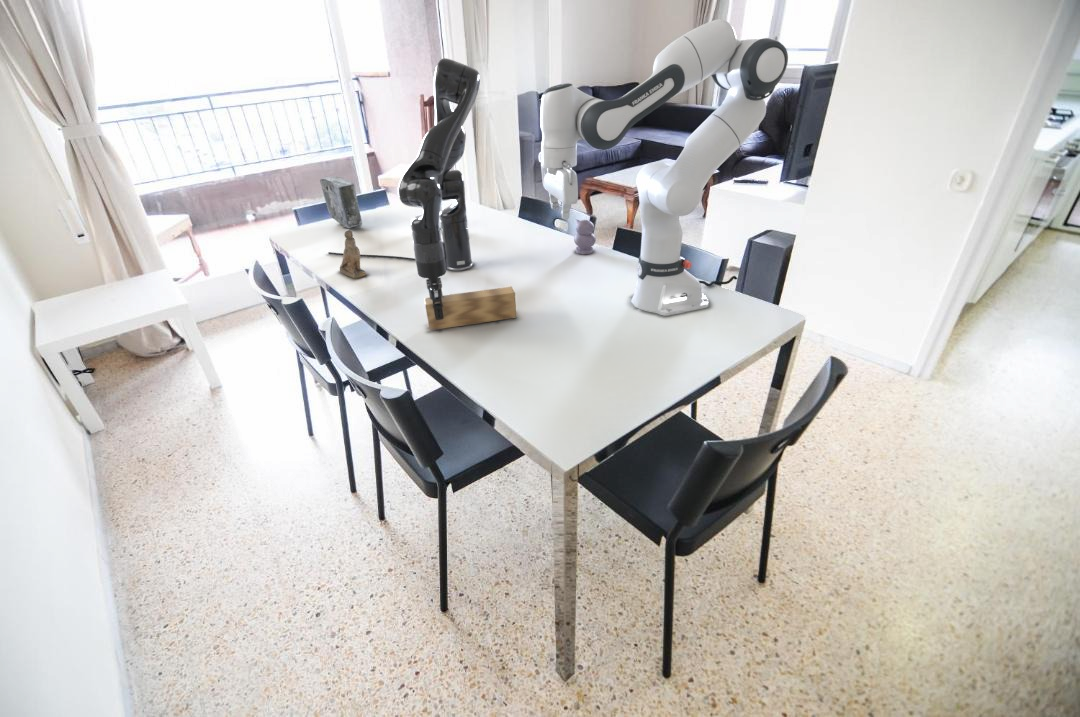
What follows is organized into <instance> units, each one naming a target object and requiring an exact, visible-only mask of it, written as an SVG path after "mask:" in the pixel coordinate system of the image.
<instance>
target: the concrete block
mask: <svg viewBox="0 0 1080 717" xmlns="http://www.w3.org/2000/svg"><path fill="white" fill-rule="evenodd" d="M319 183H320V185H321V190H322V193H323V197H324V202H325V204H326V208H327V211H328V215H329V216H330V217H331V218H332V219H333V220H335V221H336V222H337V223H339V224H340V225H341V226H342V227H344V228H346V229H351V228H353V227H358V226H361V225H362V224H363V222H362V221H363V220H362V215H361V210H360V207H359V200H358V196H357V192H356V186H355V184H354V183H353V182H352V180H351V181H350V180H349V179H347V178H344V177H341V176H337V175H336V176H335V175H334V176H326V177H322V178H320V179H319Z"/></svg>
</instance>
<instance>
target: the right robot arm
mask: <svg viewBox="0 0 1080 717" xmlns="http://www.w3.org/2000/svg"><path fill="white" fill-rule="evenodd" d="M736 34H737V33H736V31H735V28H734V27H733V25H731V23H730V22H729V21H727V20H725V19H722V18H719V19H714V20H710V21H708V22H706V23H703V24H701V25H699V26H697V27H695V28H692V29H691V30H690V31H687V32H686V33H684V34H682V35H681V36H679V37H678V38H676V39H675V40H673V41H671V43H669V44H668V45H666V47H664V48H663V49H662V50H661V51H660V52H659V53H658V54H656V57H655V59H654V61H653V66H652V73H651V75H650V76H649V77H648V78H647V79H646V80H644V81H643V82H642V83H640V84H638V85H637V86H635V87H634V88H632V89H631V90H629V91H628V92H627V93H626V94H623V96H620V97H619V98H616V99H611V100H610V99H609V100H604V99H601V98H598V97H595V96H592V95H590V94H587V93H586V92H584V91H582V90H581V89H578V88H577V87H576V86H575V85H574V84H573V83H560V84H556V85H553V86H550V87H548V88H547V89H545V90H544V92H543V93H542V95H541V100H540V114H539V116H540V117H539V119H540V121H539V122H540V130H541V135H542V136H541V137H542V138H541V142H540V143H541V144H540V152H539V153H538V161H539V162H540V170H541V171H540V172H541V181H542V187H543V188H544V190H546V191H547V192H548V196H549V199H550V200H549V202H550V208H551V210H553V211H558V210H559V209H560V206H559V205H560V203H559V202H561V211H560V217H561V219H563V220H569V219H570V212H571V208H572V205H576V204H578V201H579V185H578V184H579V183H578V175H577V172H576V171H575V170H574V169H573V168H574V167H577V164H578V141H585V142H587V144H588V145H589V146H590V147H592V148H594V149H595V150H599V151H600V150H601V151H605V150H610V149H612V148H614V147H616V146H617V145H619V143H620V142H621V141H623V139H624V137H626V135H627V133H628V132H629V131H630V129H631V128H632V127H633V126H634V125H635V124H636V123H638V122H639V121H641V120H642V119H644V118H645V117H647V116H648V115H649V114H651V113H653V112H654V111H655V110H656V109H658V108H660V107H661V106H663V105H664V104H665V103H666V102H668V101H670V100H671V99H673V98H675V97H676V96H679V95H681V94H683V93H685V92H686V91H689V90H690V89H692V88H693V87H695V86H697V85H698V84H700V83H701V82H703V81H705V80H706V79H708V78H709V77H711V78H712V80H713V82H714V83H715V84H716V85H717V86H718V87H719V88H720V89H723V90H726V91H727V93H726V96H725V98H724V100H723V101H722V103H721V104H720V105H719V106H718V107H717V108H716V109H715V110H714V111H713V112H712V113H711V114H710V115H709V116H708V117H707V118H706V119H705V120H704V121H703V122H702V123H701V124H700V125H699V126H698V127H697V128H696V129H695V130H694V131H693V132H692V133H691V134H690V135H689V136H687V138H686V139H685V143H684V147H683V149H682V150H681V152H680V154H679V155H678V157H677V159H676V160H675V161H674V162H673V163H672V164H669V163H667V162H663V161H655V162H649V163H647V164H646V165H644V166H643V167H642V168H640V170H639V171H638V173H637V175H636V178H635V186H636V190H637V193H638V200H639V213H640V220H641V241H640V242H641V243H640V255H639V256H638V262H637V280H636V285H635V289H634V291H633V292H634V293H633V294H632V298H631V304H632V305H633V306H634V307H635V308H637V309H639V310H642V311H645V312H649V313H654V314H658V315H661V316H664V317H667V316H668V317H669V316H673V315H677V314H682V313H687V312H693V311H697V310H702V309H706V308H708V307H709V305H710V302H709V299H708V297H707V296H706V295H705V294H704V293H703V290H702V285H701V284H703V285H704V286H706V287H711V286H713V285H715V284H716V285H728V284H730V283H731V282H732V281H734V280H738V277H737V276H736V275H732V276H731V277H730V278H729V279H728V280H727V281H721V280H712V281H711V282H709V283H708V282H707V281H705V280H698V279H697V278H696V277H695V276H694V275H693V274H692V273H690V272H689V271H687V270H689V269H691V268H692V266H693V265H692V262H690V260H688V259H685V258H684V257H682V256H681V250H682V241H683V232H684V231H683V227H682V224H681V220H680V217H684V216H688V215H690V214H691V213H693V212H694V211H695V210H696V209H697V208H698V206H699V205H700V202H701V199H702V195H703V190H704V189H705V186H706V185H707V183H708V182H709V180H710V179H711V177H712V176H713V175H714V174H715V172H716V171H717V170H718V169H719V167H720V166H721V165H722V164H723V163H724V162H726V161H727V160H728V159H729V158H730V157H731V156H732V155H733V154H734V153H735V152H736V151H737V150H738V149H739V148H740V147H741V146H742V145H743V144H744V143H745V142H746V141H747V140H748V139H749V137H751V135H753V133H754V132H755V130H756V129H757V128H758V127H759V126H760V124H761V123H762V121H763V120H764V119H765V117H766V114H767V105H766V101H765V99H767V98H768V97H770V96H771V95H772V94H773V93H774V91H775V88H776V86H777V85H778V84H779V82H781V80H782V78H783V77H784V75H785V72H786V70H787V67H788V61H789V53H788V50H787V48H786V47H785V45H784V44H783V43H781V42H780V41H778V40H777V39H774V38H771V37H764V38H756V37H755V38H747V39H741V40H740V39H738V37H737V35H736Z"/></svg>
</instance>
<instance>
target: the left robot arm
mask: <svg viewBox="0 0 1080 717" xmlns="http://www.w3.org/2000/svg"><path fill="white" fill-rule="evenodd" d="M480 83H481V75H480V72H479V71H478V69H476V68H473V67H471V66H469V65H466V64H464V63H461V62H458V61H456V60H454V59H450V58H446V57H444V58H440V60H439V61H438V62H437V64H436V67H435V71H434V76H433V98H434V100H433V101H434V125H433V126H432V127H431V128H429V130H428V131H427V132H426V133H425V135H424V137H423V139H422V141H421V144H420V147H419V150H418V152H417V155H416V158H415V159H414V160H413V161H412V163H411V164H410V165H409V167H408V168H407V169H406V171H405V172H404V174H403V175H402V176H401V178H400V180H399V183H398V185H397V186H398V187H397V195H398V198H399V200H400V202H401V203H402V204H403V205H405V206H406V207H412V208H422V215H417V216H415V217H413V218H411V220H410V229H411V234H412V236H411V237H412V240H413V253H414V258H413V257H405V256H393V255H381V254H361V253H360V258H361V257H364V258H382V259H383V258H384V259H398V260H406V261H407V260H408V261H413V262H414V261H415V264H416V270H417V275H418V276H419V277H420V278H422V279H425V283H426V288H427V291H428V295H429V298H430V299H431V300H432V302H433V308H434V312H435V318H436V320H441V319H443V318H444V317H443V310H442V308H443V304H442V298H443V296H444V295H443V283H442V279H441V277H442V276H445V274H446V273H447V270H449V271H454V272H459V271H467V270H469V269H471V268H472V266H473V260H472V250H471V242H470V234H469V224H468V216H467V204H466V189H465V188H466V187H465V180H464V176H463V173H462V172H461V170H459V169H453V168H454V167H455V166H456V164H458V162H459V161H460V160H461V159H462V157H463V155H464V153H465V148H466V140H467V135H466V134H467V133H466V130H465V127H464V124H465V122H466V120H467V119H468V116H469V114H470V112H471V110H472V108H473V106H474V104H475V102H476V99H477V97H478V93H479V89H480V85H481V84H480ZM452 103H453V104H455V105H456V107H455V108H454V107H453V104H452ZM445 201H453V202H452V203H451V204H450V205H448V206H447V207H444V210H442V211H441V212H440V209H441V202H445ZM439 218H440V223H441V229H440V228H439ZM441 235H442V236H441ZM327 253H328V255H334V256H343V253H344V252H343V253H342V252H332V251H331V252H329V251H328V252H327ZM435 302H440V303H435Z"/></svg>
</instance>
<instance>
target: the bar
mask: <svg viewBox="0 0 1080 717" xmlns="http://www.w3.org/2000/svg"><path fill="white" fill-rule="evenodd" d="M516 302H517V301H516V292H515V290H514V288H513V286H505V287H497V288H490V289H483V290H474V291H467V292H461V293H454V294H445V295H443V298H442V304H443V308H442V310H443V317H444V318H443V319H441V320H436V318H435V312H434V308H433V302H432V300H431V299H430V297H424V304H425V305H424V306H425V311H426V317H427V323H428V328H429V331H434V330H441V329H449V328H455V327H461V326H467V325H476V324H481V323H489V322H496V321H501V320H502V321H503V320H509V319H515V318H517V303H516ZM435 303H440V302H435Z"/></svg>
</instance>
